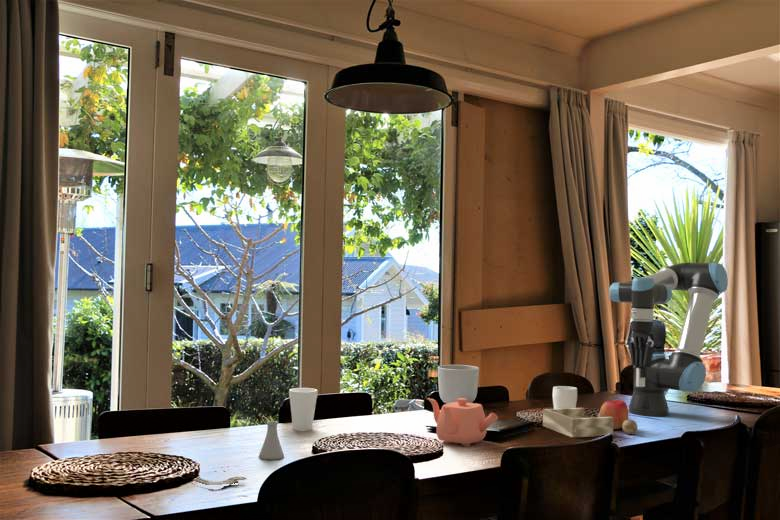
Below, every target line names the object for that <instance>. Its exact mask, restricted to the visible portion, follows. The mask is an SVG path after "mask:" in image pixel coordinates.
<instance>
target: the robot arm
mask: <svg viewBox="0 0 780 520" xmlns="http://www.w3.org/2000/svg"><path fill="white" fill-rule="evenodd" d="M728 284H729V282H728V274H727V271H726V269H725V266H724V265H723V264H721V263H719V262H679V263H676V264H673V265H670V266H669V265H668V266H665V267H663V268H660V269H659V270H658V271H657V272H655V273H651V274H647V275H646V276H642V277H634V278H632V280H628V281H626V282H620V281H619V282H612V284H611V285H610V287H609V290H608V294H609V298H610V300H611V301H612V302H615V303H620V304H621V303H626V304H627V303H628V304H629V303H631V312H630V313H631V321H630V331H631V332H632V337H631V338H628V339H627V342H628V344H629V345H628V346H629V352H630V361H631V365H632V366H633V393H632V396H631V398H630V401H629V405H628V413H631V414H634V415H635V414H636V415H640V416H646V417H647V416H648V417H664V416H668V415H669V414H670V409H669V405H668V402H667V399H666V398H667V397H666V395H665V389H666V390H673V391H679V392H683V393H688V392H689V393H692V392H693V393H694V392H698V391H699V390H700V389H701V388H702V387H703V386H704V383H705V380H706V378H707V377H706V376H707V373H706V372H707V368H706V366H705V364H704V363H703V361H704V360H703V359H702V357H701V351H702V349H703V343H704V340H705V336H706V331H707V327H708V324H709V319H710V315H711V311H712V307H713V303H714V301H717V300H718V299H719V295H720V293H721V294H722V293H725V292H726V291H727V289H728ZM672 291H683V292H684V291H685V292H687V293H688V295H689V300H688V304H687V309H686V311H685V316H684V319H683V324H682V327H681V330H680V335H679V339H678V342H677V347H676V350H673V351H671V354H670V357H669V358H666V355H665V354H662V353H660V354H654V349H655V346H656V345H657V342H656V341H655V340H653V339H652V335H651V333H653V331H654V322H653V320H654V305H665V304H668V303H669V302H670V301H671V300H672V297H673V292H672Z"/></svg>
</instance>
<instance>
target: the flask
mask: <svg viewBox="0 0 780 520" xmlns="http://www.w3.org/2000/svg"><path fill="white" fill-rule="evenodd" d="M278 424H279V422H278V421H275V420H274V421H270V420H269V421H267V422H266V425H267V428H266V429H267V430H266V436H265V437H264V438H265V439H264V441H263V444H262V446H261V449H260V452H259V455H258V458H259V457H260V458H259V459H261V460H267V459H268V460H267V461H272V460H281V459H283V458H285V455H284V451H283V449H282V445H281V442H280V439H279V436H278V435H279V433H278Z"/></svg>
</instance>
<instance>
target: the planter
mask: <svg viewBox="0 0 780 520" xmlns="http://www.w3.org/2000/svg"><path fill="white" fill-rule="evenodd" d="M479 374H480V367H478V366H475V365H466V364H442V365H438V366H437V379H438V380H437V382H438V393H439V394H438V395H439V397H440V400H442V402H443V403H444V404H447V403H452V402H458V401H457V399H458V398H465V399H468V400H467V403H474V401H475V399H476V398H477V394H478V387H479V386H478V384H479Z"/></svg>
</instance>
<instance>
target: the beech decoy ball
mask: <svg viewBox="0 0 780 520" xmlns="http://www.w3.org/2000/svg"><path fill="white" fill-rule="evenodd" d="M621 428H622V430H623V432H624V433H625V434H627V435H634V434H636V432H637V431H638V428H639V427H638V424H637V422H636V421H635V420H634V419H632V418H631V419H630V418H628V419H627V420H625V421H624V422H623V424H622V427H621Z"/></svg>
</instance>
